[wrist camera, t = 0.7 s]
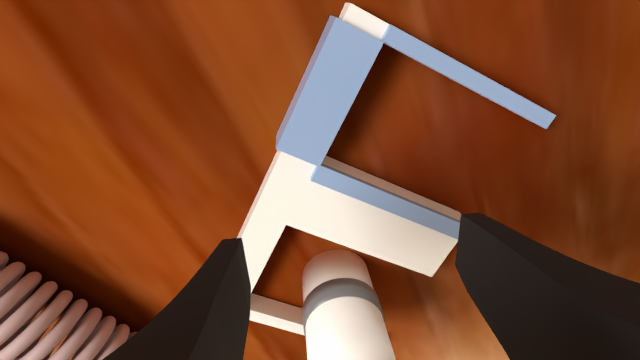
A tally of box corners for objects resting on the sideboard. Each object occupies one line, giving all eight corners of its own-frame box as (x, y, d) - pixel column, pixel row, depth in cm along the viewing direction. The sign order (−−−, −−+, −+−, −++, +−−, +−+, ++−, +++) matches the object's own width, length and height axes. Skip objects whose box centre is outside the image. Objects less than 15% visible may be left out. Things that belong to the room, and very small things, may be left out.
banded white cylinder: (381, 260, 25) (415, 349, 19) (349, 310, 27) (369, 406, 20) (319, 238, 24) (331, 324, 17) (289, 291, 25) (291, 388, 19)
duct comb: (534, 106, 21) (560, 117, 19) (370, 337, 28) (376, 363, 26) (337, -2, 18) (344, -2, 16) (206, 289, 25) (199, 315, 23)
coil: (192, 410, 23) (-139, 233, 16) (140, 454, 24) (-199, 301, 17) (201, 350, 27) (-58, 191, 20) (157, 389, 28) (-108, 247, 21)
